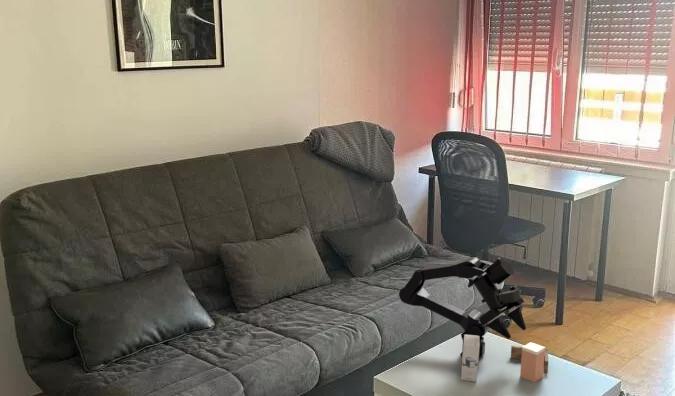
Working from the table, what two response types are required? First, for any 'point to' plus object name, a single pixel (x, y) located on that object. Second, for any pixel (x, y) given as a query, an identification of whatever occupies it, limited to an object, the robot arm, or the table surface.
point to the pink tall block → (532, 361)
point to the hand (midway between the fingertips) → (517, 333)
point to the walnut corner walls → (517, 353)
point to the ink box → (470, 357)
